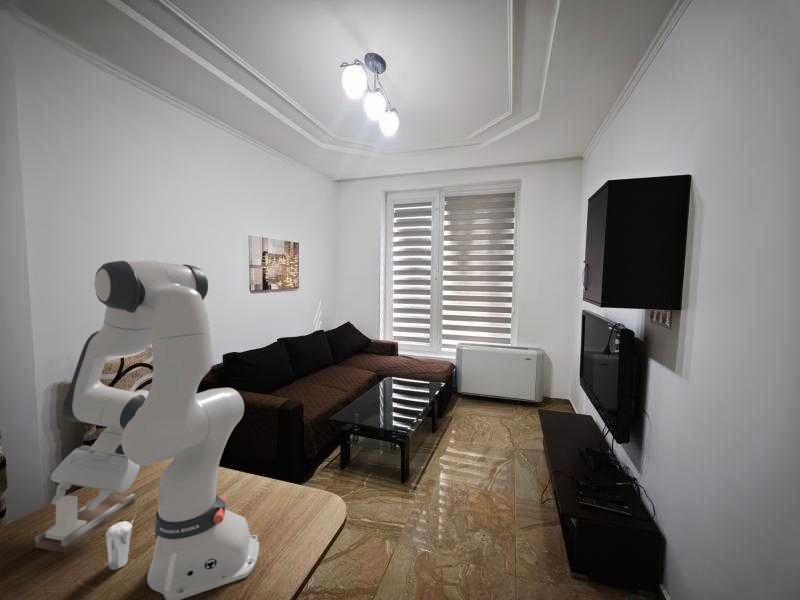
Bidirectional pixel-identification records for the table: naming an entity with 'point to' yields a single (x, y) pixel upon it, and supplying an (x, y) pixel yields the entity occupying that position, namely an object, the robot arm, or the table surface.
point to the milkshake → (118, 543)
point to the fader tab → (65, 519)
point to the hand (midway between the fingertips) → (72, 507)
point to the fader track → (88, 522)
